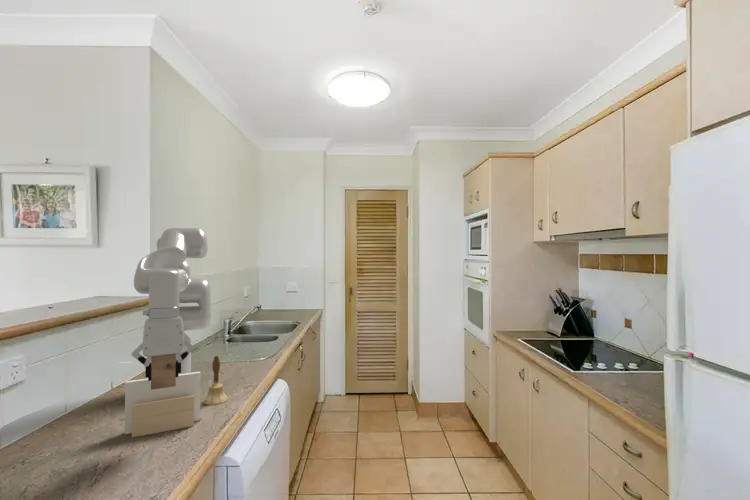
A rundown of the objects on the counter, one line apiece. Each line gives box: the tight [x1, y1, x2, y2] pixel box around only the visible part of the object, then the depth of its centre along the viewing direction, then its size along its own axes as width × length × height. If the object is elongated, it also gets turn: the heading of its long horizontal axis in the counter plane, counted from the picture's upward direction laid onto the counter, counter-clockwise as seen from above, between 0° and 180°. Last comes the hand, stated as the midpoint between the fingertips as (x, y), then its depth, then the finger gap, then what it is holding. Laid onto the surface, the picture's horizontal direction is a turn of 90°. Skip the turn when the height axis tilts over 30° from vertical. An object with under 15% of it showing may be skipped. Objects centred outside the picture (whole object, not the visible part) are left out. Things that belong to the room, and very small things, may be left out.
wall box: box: [151, 354, 176, 390], centre depth 109 cm, size 9×6×10 cm
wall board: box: [124, 371, 201, 438], centre depth 115 cm, size 5×20×15 cm, turn 118°
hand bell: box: [202, 355, 229, 406], centre depth 137 cm, size 8×8×16 cm
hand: (163, 377), depth 107 cm, fingers closed on wall box, 6 cm apart
